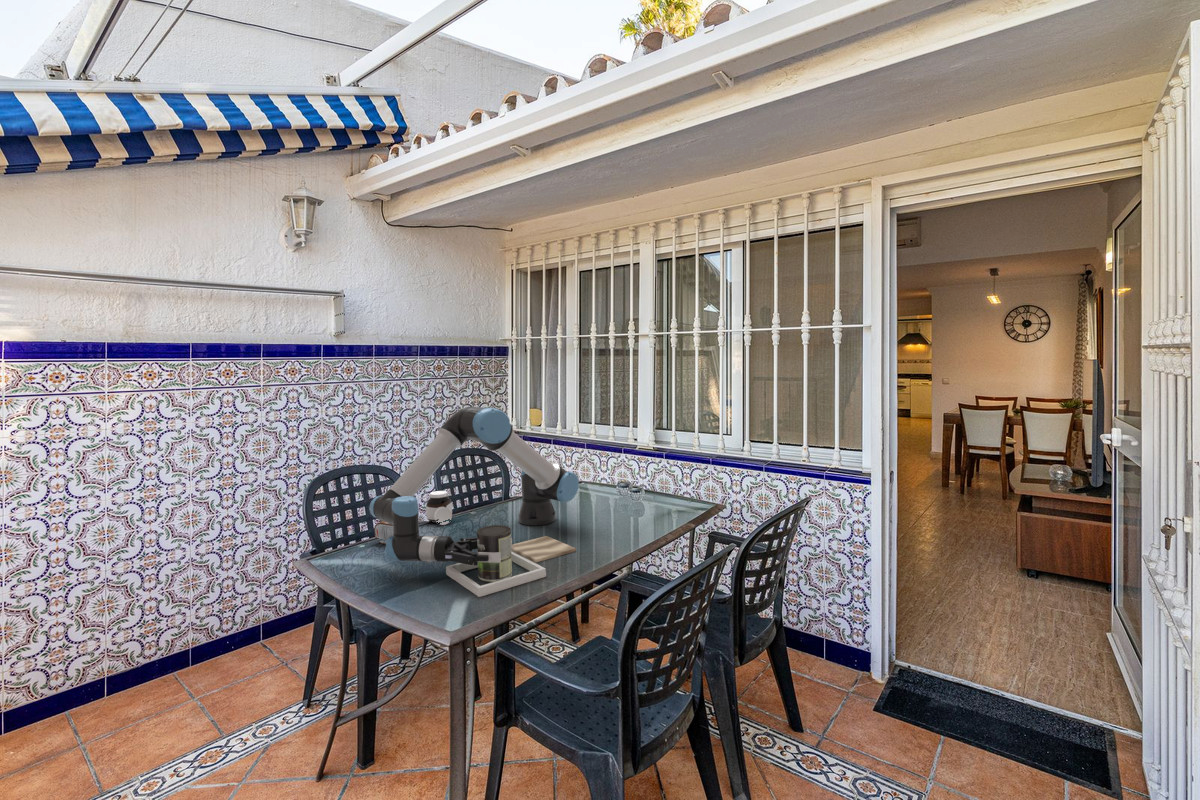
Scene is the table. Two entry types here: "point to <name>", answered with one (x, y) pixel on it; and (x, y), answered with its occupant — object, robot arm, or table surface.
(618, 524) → the table surface
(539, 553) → the board
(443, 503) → the spread jar
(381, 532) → the tin
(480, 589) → the white square frame
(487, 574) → the coffee can
